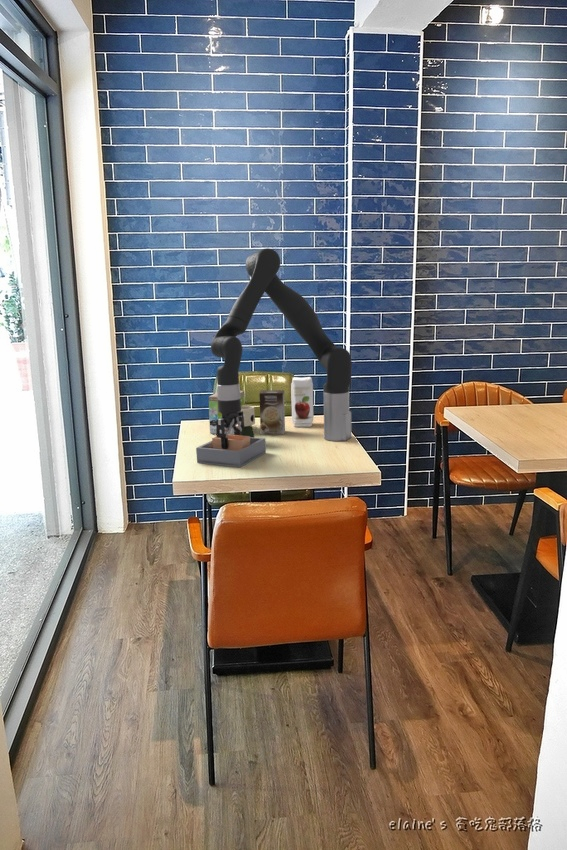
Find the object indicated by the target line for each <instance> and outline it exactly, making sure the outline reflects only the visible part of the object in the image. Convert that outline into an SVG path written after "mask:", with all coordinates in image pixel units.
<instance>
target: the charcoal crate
mask: <svg viewBox="0 0 567 850" xmlns="http://www.w3.org/2000/svg"><path fill="white" fill-rule="evenodd" d="M195 451H196V462H197V464H205V465H215V466H225V467H232V468H233V467H234V468H241V467H243V466H246V465H247V464H248V463H251V462H252V461H254V460H256V459H258V458H259V457H261V456H263V455H264V454H266V453H267V452H266V451H267V449H266V438H262V437H255V436H254V437H250V445H249V446H247V447H245V448H243V449H241V450H239V451H232V450H222V449H213V444H212V440H210V441H207V442H206V443H204V444H202V445H199V446H197V447H195Z"/></svg>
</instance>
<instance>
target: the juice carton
mask: <svg viewBox="0 0 567 850" xmlns="http://www.w3.org/2000/svg"><path fill="white" fill-rule="evenodd" d="M290 394H291V395H290V398H291V400H290V401H291V421H292V424H293V427H294V428H304V427H305V428H311V427H312V426H313V422H314V383H313V379H312V377H311V376H307V377H306V376H304V377H299V376H298V377H297V376H296V377H295V376H293V377H292V380H291V383H290Z"/></svg>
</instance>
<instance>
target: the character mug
mask: <svg viewBox="0 0 567 850" xmlns="http://www.w3.org/2000/svg"><path fill="white" fill-rule="evenodd" d="M241 411H243V416H244V428H242V431H241V436H250V437H254V438H255V434H254V429H253V426H254V425H255V424H256V417H255V416H256V414H255V406H253V405H245V406H241ZM239 422H240V421H239ZM240 424H241V422H240Z"/></svg>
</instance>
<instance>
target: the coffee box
mask: <svg viewBox="0 0 567 850" xmlns="http://www.w3.org/2000/svg"><path fill="white" fill-rule="evenodd" d="M285 420H286V419H285V390H275V389H273V390H272V389H271V390H268V389H267V390H266V389H264V390H263V389H262V390H260V392H259V423H260V425H259V426H260V427H259V428H260V433H259V435H262V436H263V435H269V436H271V435H272V436H274V435H275V436H276V435H278V436H281V435H285V432H286V421H285Z"/></svg>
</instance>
